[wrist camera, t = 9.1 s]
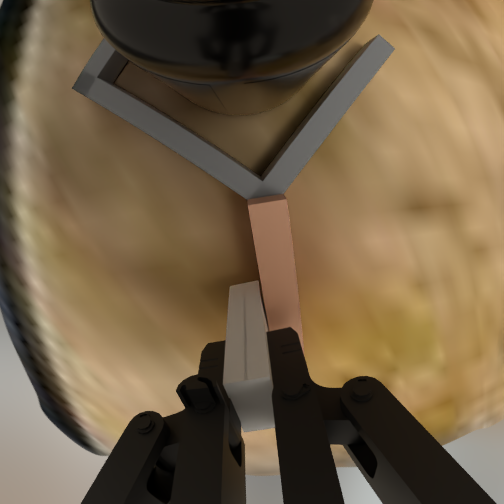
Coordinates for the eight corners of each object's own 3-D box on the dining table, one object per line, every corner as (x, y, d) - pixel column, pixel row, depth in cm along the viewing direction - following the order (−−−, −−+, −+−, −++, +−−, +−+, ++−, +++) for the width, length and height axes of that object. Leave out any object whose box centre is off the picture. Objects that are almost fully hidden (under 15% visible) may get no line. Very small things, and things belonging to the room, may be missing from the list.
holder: (35, 214, 14) (4, 229, 11) (205, -47, 9) (198, -76, 6) (289, 373, 18) (295, 407, 15) (468, 155, 13) (501, 161, 10)
